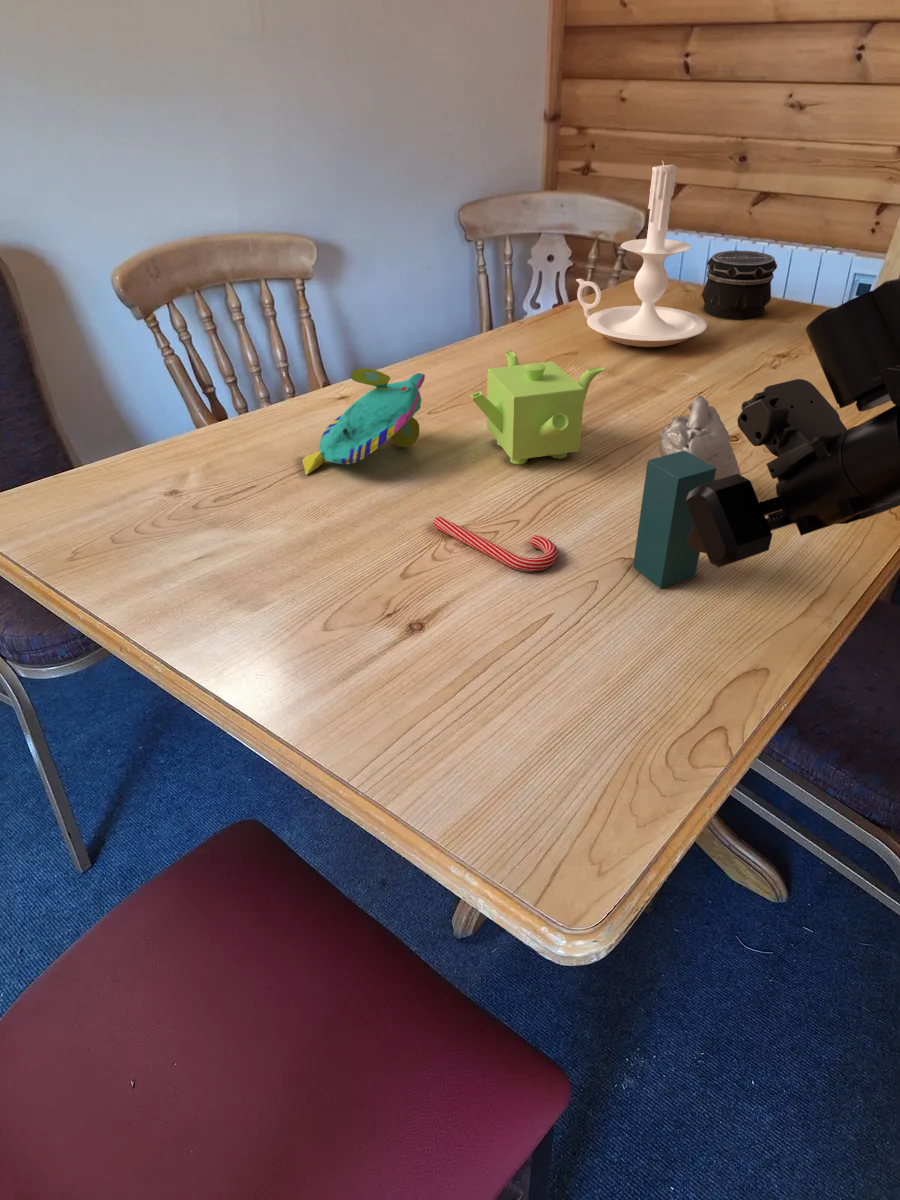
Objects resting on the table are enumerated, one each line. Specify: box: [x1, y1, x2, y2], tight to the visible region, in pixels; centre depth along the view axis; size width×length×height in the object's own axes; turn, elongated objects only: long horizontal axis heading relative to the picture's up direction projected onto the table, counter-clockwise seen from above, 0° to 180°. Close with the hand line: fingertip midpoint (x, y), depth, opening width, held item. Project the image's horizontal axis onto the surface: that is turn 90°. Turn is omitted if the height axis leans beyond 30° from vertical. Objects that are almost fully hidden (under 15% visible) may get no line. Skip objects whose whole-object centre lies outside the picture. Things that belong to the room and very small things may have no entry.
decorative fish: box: [302, 368, 426, 476], centre depth 99 cm, size 20×12×15 cm
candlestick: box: [575, 160, 708, 348], centre depth 131 cm, size 21×25×28 cm
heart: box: [658, 394, 742, 480], centre depth 87 cm, size 10×10×12 cm
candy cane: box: [432, 516, 559, 572], centre depth 84 cm, size 6×15×2 cm, turn 44°
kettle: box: [469, 350, 606, 465], centre depth 100 cm, size 15×14×11 cm
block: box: [632, 450, 716, 589], centre depth 75 cm, size 4×4×12 cm
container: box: [701, 250, 778, 320], centre depth 148 cm, size 13×13×10 cm
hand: (731, 530), depth 68 cm, fingers open, 9 cm apart
